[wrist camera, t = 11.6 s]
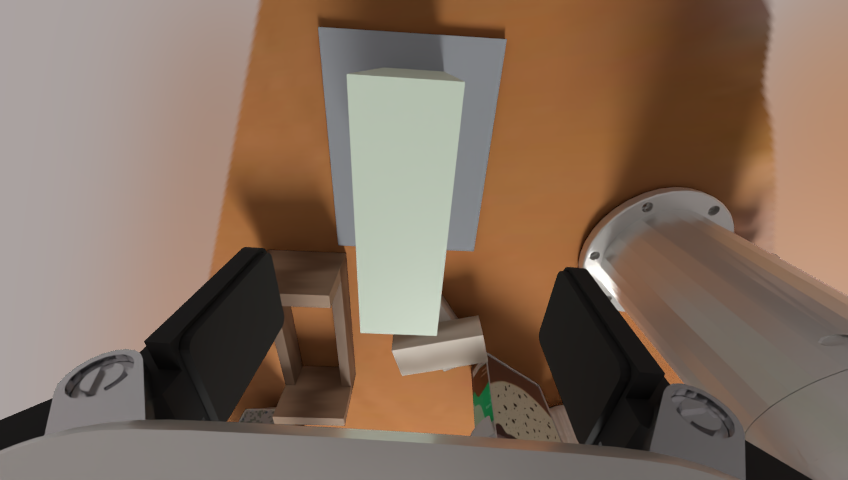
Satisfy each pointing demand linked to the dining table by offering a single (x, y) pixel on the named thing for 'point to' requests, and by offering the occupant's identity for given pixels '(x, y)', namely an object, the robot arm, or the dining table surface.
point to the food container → (509, 404)
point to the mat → (431, 52)
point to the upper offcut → (441, 347)
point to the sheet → (402, 193)
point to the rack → (305, 385)
